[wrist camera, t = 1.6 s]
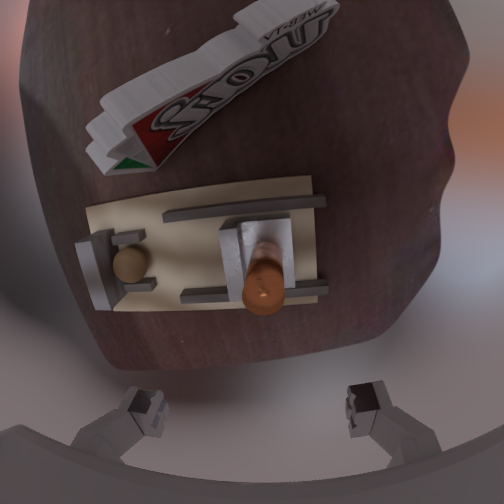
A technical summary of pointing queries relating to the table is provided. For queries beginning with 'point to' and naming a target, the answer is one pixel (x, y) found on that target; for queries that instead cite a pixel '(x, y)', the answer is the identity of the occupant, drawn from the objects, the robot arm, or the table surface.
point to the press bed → (194, 244)
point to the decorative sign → (200, 84)
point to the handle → (258, 260)
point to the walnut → (130, 265)
